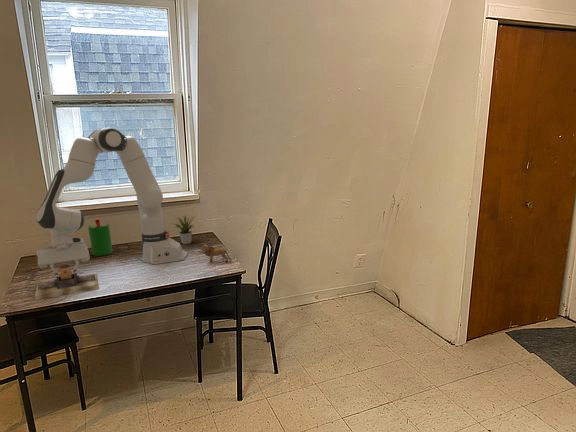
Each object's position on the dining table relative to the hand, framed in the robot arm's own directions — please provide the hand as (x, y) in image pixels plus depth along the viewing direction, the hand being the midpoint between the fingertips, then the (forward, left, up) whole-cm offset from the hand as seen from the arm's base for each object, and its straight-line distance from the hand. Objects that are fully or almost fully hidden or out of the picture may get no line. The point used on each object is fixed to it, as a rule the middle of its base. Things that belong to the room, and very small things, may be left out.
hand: (65, 272), depth 183 cm
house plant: (-49, -56, -8) cm, 74 cm away
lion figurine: (-64, -18, -8) cm, 67 cm away
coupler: (0, -1, -6) cm, 6 cm away
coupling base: (0, -1, -8) cm, 8 cm away
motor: (-4, -48, -8) cm, 48 cm away
